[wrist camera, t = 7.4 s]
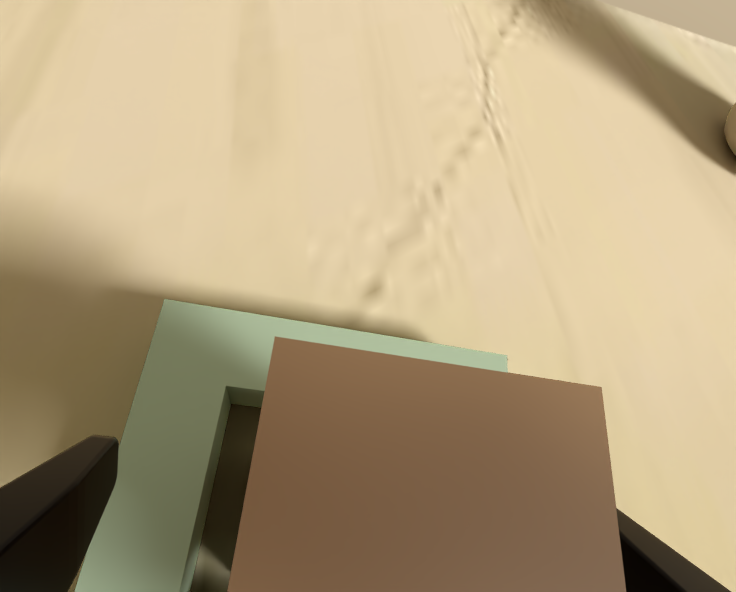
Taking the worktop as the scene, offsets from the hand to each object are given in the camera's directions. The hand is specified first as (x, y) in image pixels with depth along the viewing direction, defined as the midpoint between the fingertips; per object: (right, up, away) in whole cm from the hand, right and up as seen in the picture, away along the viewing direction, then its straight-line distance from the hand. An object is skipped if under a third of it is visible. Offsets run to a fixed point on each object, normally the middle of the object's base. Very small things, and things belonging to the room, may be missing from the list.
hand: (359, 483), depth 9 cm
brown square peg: (-2, -4, +7) cm, 8 cm away
